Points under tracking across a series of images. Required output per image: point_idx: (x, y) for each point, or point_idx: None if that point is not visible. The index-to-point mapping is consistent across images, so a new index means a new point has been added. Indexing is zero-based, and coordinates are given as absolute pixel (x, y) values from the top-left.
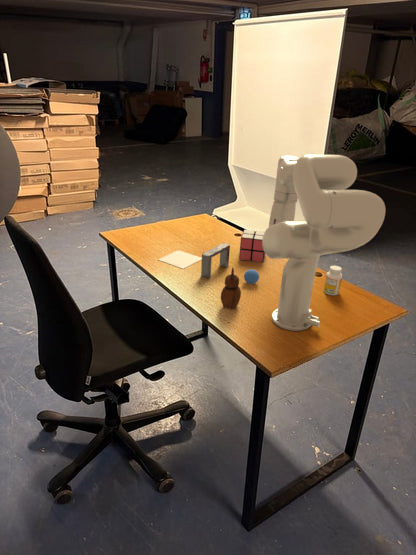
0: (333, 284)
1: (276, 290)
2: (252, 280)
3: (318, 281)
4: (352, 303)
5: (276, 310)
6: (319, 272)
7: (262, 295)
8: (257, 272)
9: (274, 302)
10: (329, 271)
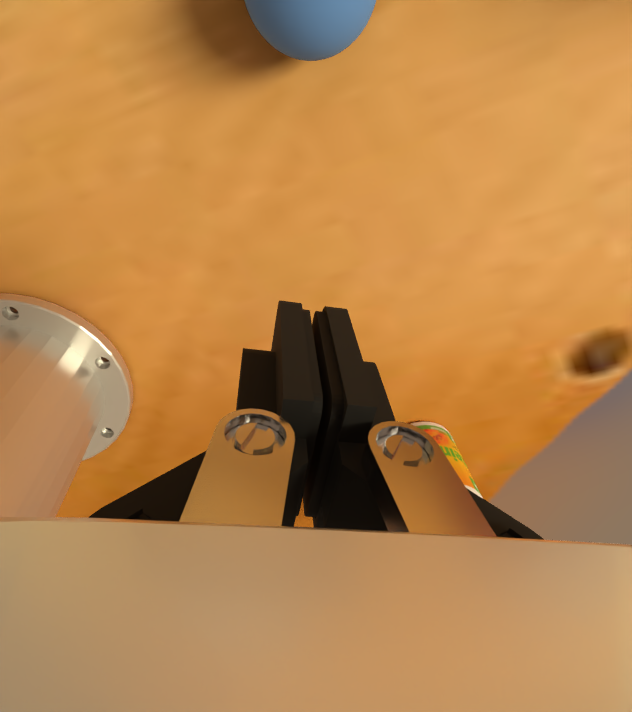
0: None
1: (298, 214)
2: (251, 18)
3: (512, 378)
4: None
5: (21, 310)
6: (628, 356)
7: (177, 153)
8: (334, 33)
9: (143, 253)
10: None
